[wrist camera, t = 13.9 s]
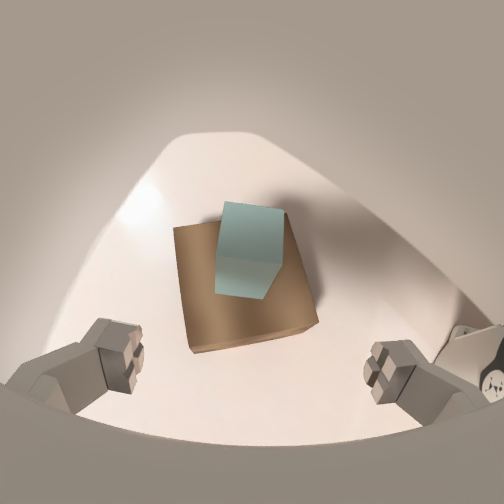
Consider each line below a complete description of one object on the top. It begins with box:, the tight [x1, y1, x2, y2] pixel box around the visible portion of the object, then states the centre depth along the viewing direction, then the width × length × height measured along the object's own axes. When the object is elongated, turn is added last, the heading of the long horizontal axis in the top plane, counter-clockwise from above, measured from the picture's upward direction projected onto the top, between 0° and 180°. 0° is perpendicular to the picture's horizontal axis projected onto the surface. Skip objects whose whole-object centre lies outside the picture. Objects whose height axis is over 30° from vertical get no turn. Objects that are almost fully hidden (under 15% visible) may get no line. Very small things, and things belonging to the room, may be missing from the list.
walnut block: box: [173, 213, 319, 354], centre depth 30 cm, size 12×12×6 cm
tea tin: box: [215, 201, 284, 299], centre depth 23 cm, size 4×4×8 cm
